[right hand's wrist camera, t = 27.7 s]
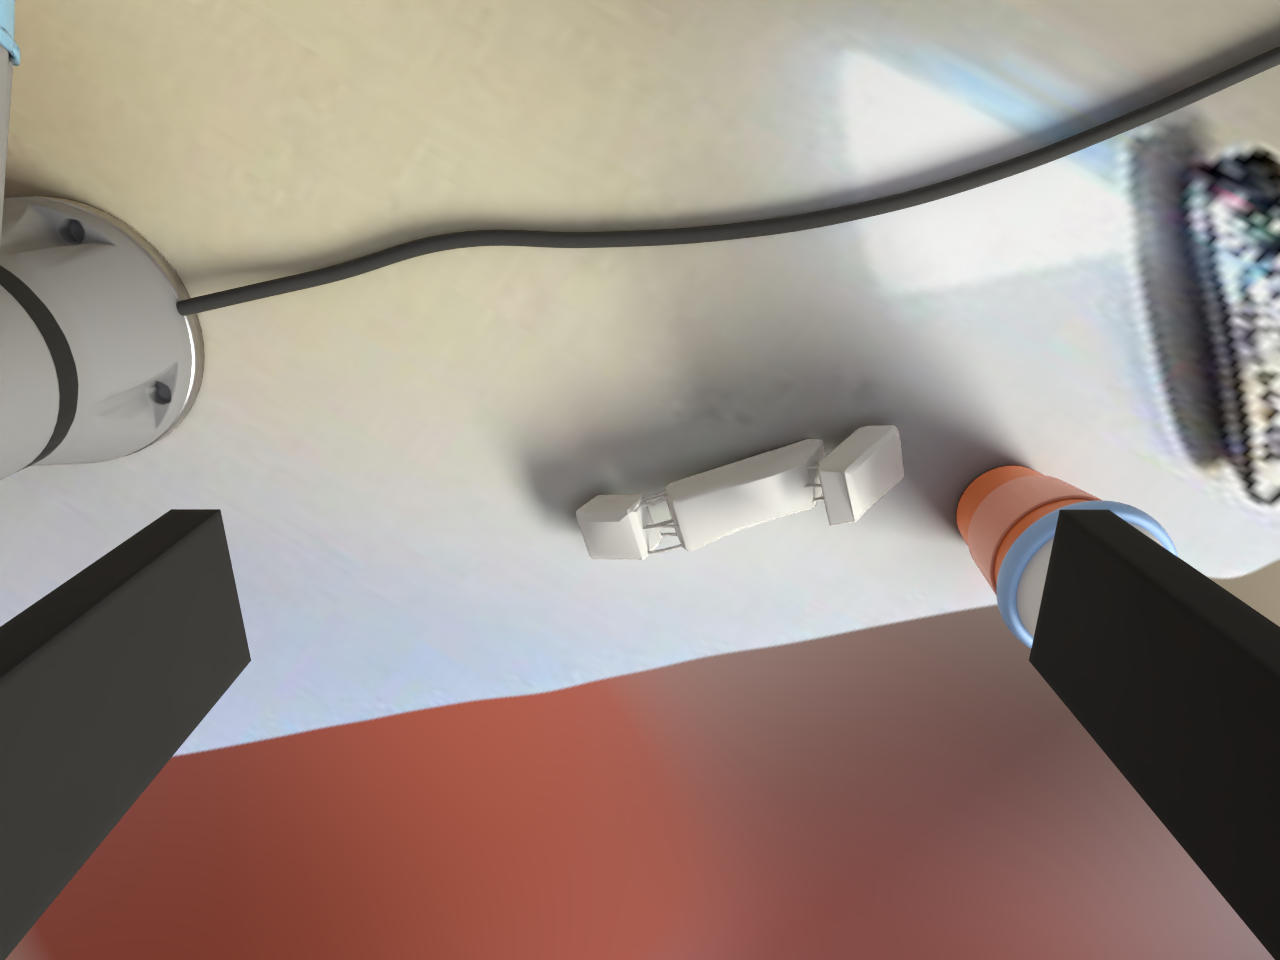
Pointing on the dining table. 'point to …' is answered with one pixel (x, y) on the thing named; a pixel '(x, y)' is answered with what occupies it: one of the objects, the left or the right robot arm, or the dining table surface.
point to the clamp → (750, 495)
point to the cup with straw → (1027, 535)
